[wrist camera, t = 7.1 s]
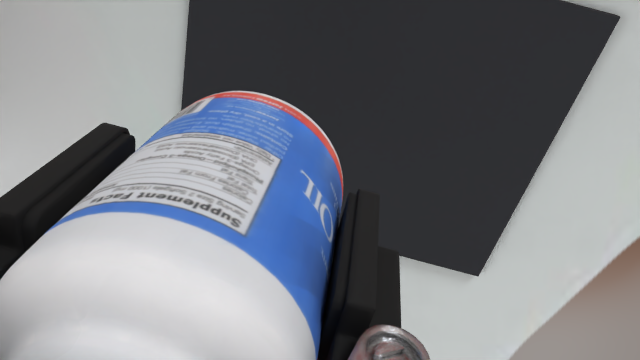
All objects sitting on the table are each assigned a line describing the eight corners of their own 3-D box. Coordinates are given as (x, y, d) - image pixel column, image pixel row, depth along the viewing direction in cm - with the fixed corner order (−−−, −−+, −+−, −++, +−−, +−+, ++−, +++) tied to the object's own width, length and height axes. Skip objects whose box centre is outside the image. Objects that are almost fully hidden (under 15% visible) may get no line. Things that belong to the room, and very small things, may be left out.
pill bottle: (336, 258, 15) (265, 715, 6) (173, 234, 15) (-98, 635, 7) (356, 94, 12) (281, 521, 4) (156, 70, 12) (-341, 403, 4)
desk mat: (176, 193, 33) (174, 196, 32) (199, -97, 23) (196, -97, 23) (477, 272, 33) (478, 276, 32) (617, 15, 24) (621, 16, 23)
